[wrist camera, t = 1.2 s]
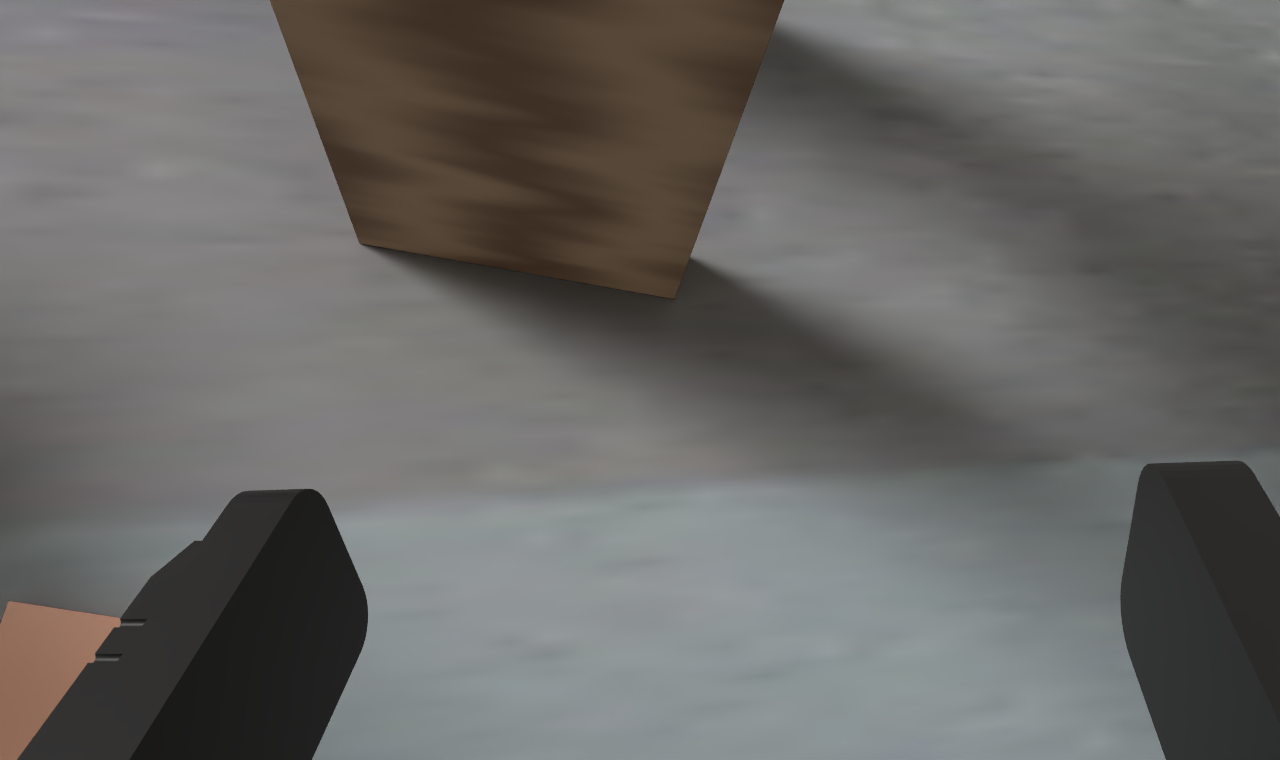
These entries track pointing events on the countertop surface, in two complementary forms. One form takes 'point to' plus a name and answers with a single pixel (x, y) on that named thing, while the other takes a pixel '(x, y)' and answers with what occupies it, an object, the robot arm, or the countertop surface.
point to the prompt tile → (41, 665)
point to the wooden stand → (531, 125)
